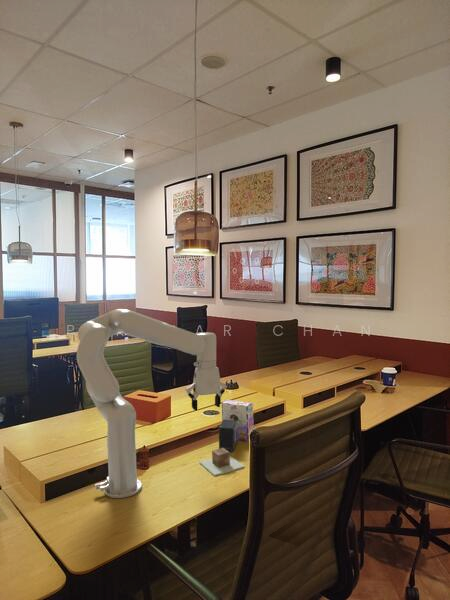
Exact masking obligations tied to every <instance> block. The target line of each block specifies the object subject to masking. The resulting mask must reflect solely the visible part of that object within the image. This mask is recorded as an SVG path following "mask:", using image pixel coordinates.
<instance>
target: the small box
mask: <svg viewBox="0 0 450 600" xmlns="http://www.w3.org/2000/svg"><path fill="white" fill-rule="evenodd" d="M237 443H238V440H237V420H225V419H224V420H223V421H221V423H220V424H219V426H218V449H221V448H224V449H226V450H227V451H228V452H229V453H234V450H235V449H236V446H237Z"/></svg>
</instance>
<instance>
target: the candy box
mask: <svg viewBox="0 0 450 600" xmlns="http://www.w3.org/2000/svg"><path fill="white" fill-rule="evenodd" d="M221 417H222V418H221V419H222V421H223V420H224V419H225V420H237V441H242V442H247V443H249V442H250V441H249V433H250V431H251V430H253V429H254V427H255V425H254V403H253V402H249V401H248V402H247V401H241V400H233V399H226V400H224V401H222V402H221ZM222 421H221V422H222ZM254 430H255V429H254Z"/></svg>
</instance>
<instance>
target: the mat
mask: <svg viewBox="0 0 450 600" xmlns="http://www.w3.org/2000/svg"><path fill="white" fill-rule="evenodd" d="M199 464H200V465H201V466H202V467H203V468H204V469H205V470H207V471H208V472H209V473H210V475H212V477H213V476H214V477H217V476H220V475H224V474H227V473H231V472H233V471H239V470H242V469H244V468H245V465H243V463H241V462H239V461H238V460H237V459H235V458H234V457H232V455H230V465H228V466H224V467H221V468H218V467H217V466H215V465H214V464H213V462H212V458H208V459H204V460H200V461H199Z"/></svg>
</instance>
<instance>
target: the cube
mask: <svg viewBox="0 0 450 600" xmlns="http://www.w3.org/2000/svg"><path fill="white" fill-rule="evenodd" d="M211 453H212V462H213V464H214V465H215V466H217V467H218V468H221V467H224V466H228V465H230V456H231V455H230V453H231V452H228V451H227V450H226V449H224V448H221V449H219V448H218V449H214V450H212V451H211Z"/></svg>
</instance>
